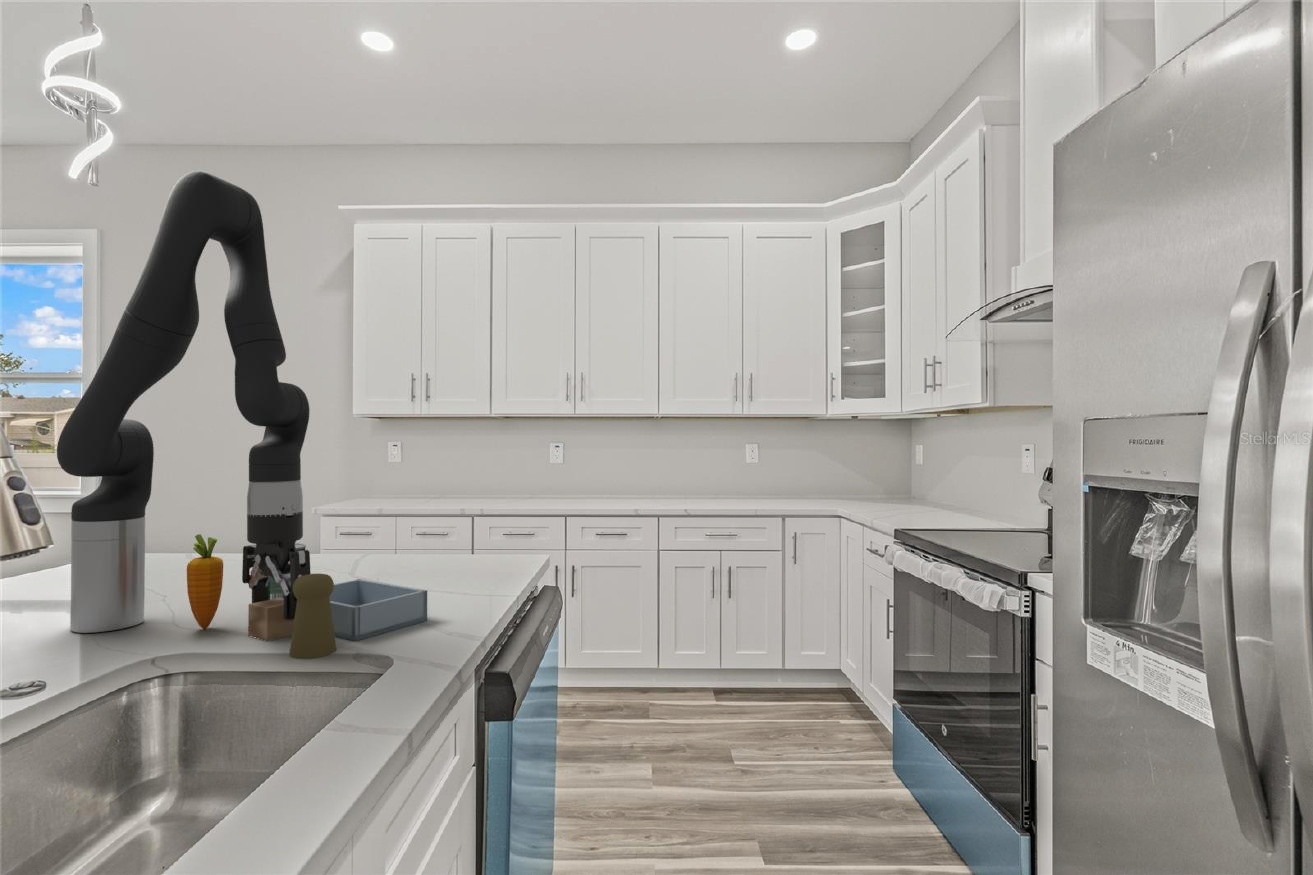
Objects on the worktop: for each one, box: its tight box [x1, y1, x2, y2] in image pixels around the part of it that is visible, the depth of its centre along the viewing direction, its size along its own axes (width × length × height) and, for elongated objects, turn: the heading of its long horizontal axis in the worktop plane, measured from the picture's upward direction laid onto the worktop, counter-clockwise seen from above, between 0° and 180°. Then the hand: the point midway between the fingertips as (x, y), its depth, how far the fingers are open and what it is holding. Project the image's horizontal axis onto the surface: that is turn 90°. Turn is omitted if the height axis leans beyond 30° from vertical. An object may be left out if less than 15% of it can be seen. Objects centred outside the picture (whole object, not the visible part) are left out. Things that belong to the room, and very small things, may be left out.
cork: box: [288, 573, 337, 660], centre depth 96 cm, size 6×6×11 cm
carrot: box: [186, 533, 224, 630], centre depth 107 cm, size 5×5×15 cm
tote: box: [329, 578, 428, 642], centre depth 111 cm, size 18×14×5 cm
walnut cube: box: [247, 598, 294, 642], centre depth 104 cm, size 5×5×5 cm
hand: (275, 615), depth 104 cm, fingers open, 8 cm apart
